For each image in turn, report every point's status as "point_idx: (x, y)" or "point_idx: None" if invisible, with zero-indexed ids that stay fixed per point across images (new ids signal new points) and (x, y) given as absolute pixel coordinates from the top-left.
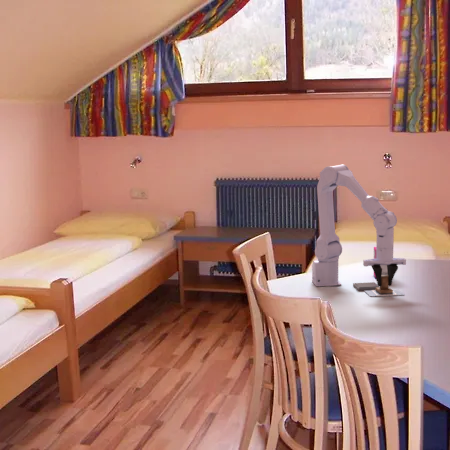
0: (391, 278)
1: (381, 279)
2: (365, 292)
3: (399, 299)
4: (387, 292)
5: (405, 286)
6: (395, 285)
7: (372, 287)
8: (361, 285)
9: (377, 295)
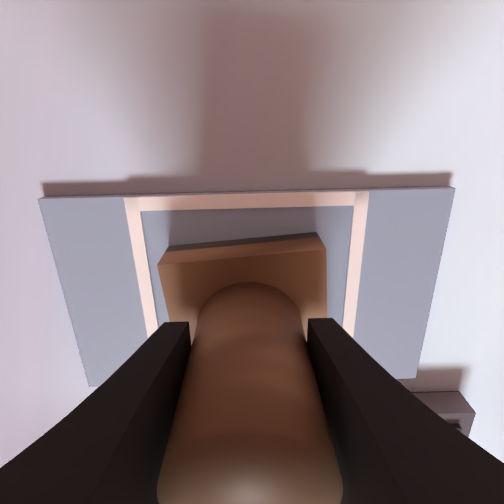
0: (121, 393)
1: (319, 403)
2: (417, 345)
3: (124, 16)
4: (230, 246)
5: None
6: None
7: None
8: None
9: (366, 192)
